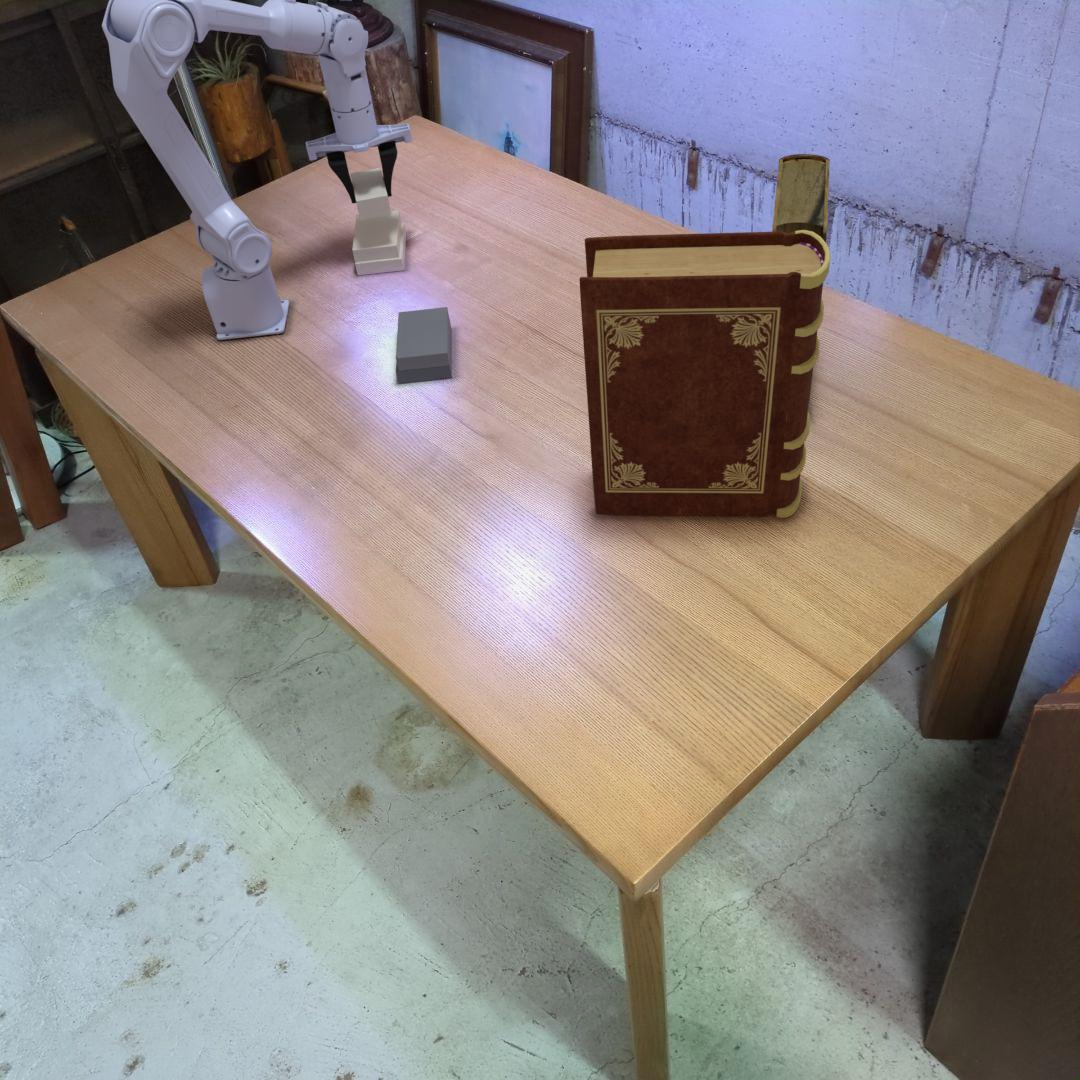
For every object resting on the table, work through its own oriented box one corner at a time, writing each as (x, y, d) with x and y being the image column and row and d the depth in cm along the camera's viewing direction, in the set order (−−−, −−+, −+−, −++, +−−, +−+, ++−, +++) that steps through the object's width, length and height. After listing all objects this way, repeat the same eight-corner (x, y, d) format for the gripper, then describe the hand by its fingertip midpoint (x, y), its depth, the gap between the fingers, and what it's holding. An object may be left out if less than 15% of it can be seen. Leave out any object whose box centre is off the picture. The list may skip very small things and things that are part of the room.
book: (765, 338, 137) (779, 153, 119) (809, 340, 136) (829, 154, 118) (758, 418, 126) (772, 227, 108) (805, 421, 125) (827, 228, 107)
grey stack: (398, 384, 137) (392, 358, 134) (400, 335, 145) (395, 310, 142) (451, 378, 137) (447, 352, 134) (451, 330, 145) (447, 305, 142)
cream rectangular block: (360, 220, 150) (356, 201, 148) (354, 192, 157) (350, 173, 155) (391, 214, 151) (387, 195, 149) (384, 186, 157) (380, 167, 155)
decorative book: (798, 469, 119) (826, 227, 98) (803, 519, 114) (834, 274, 92) (599, 469, 122) (584, 234, 101) (595, 517, 116) (578, 280, 95)
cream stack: (357, 275, 157) (351, 251, 154) (361, 238, 165) (356, 214, 162) (404, 270, 157) (399, 246, 154) (406, 233, 165) (401, 209, 162)
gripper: (299, 125, 140) (323, 219, 150) (407, 105, 141) (424, 200, 151) (296, 104, 145) (319, 196, 155) (400, 85, 146) (417, 178, 156)
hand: (371, 196), depth 153 cm, fingers closed on cream rectangular block, 4 cm apart
